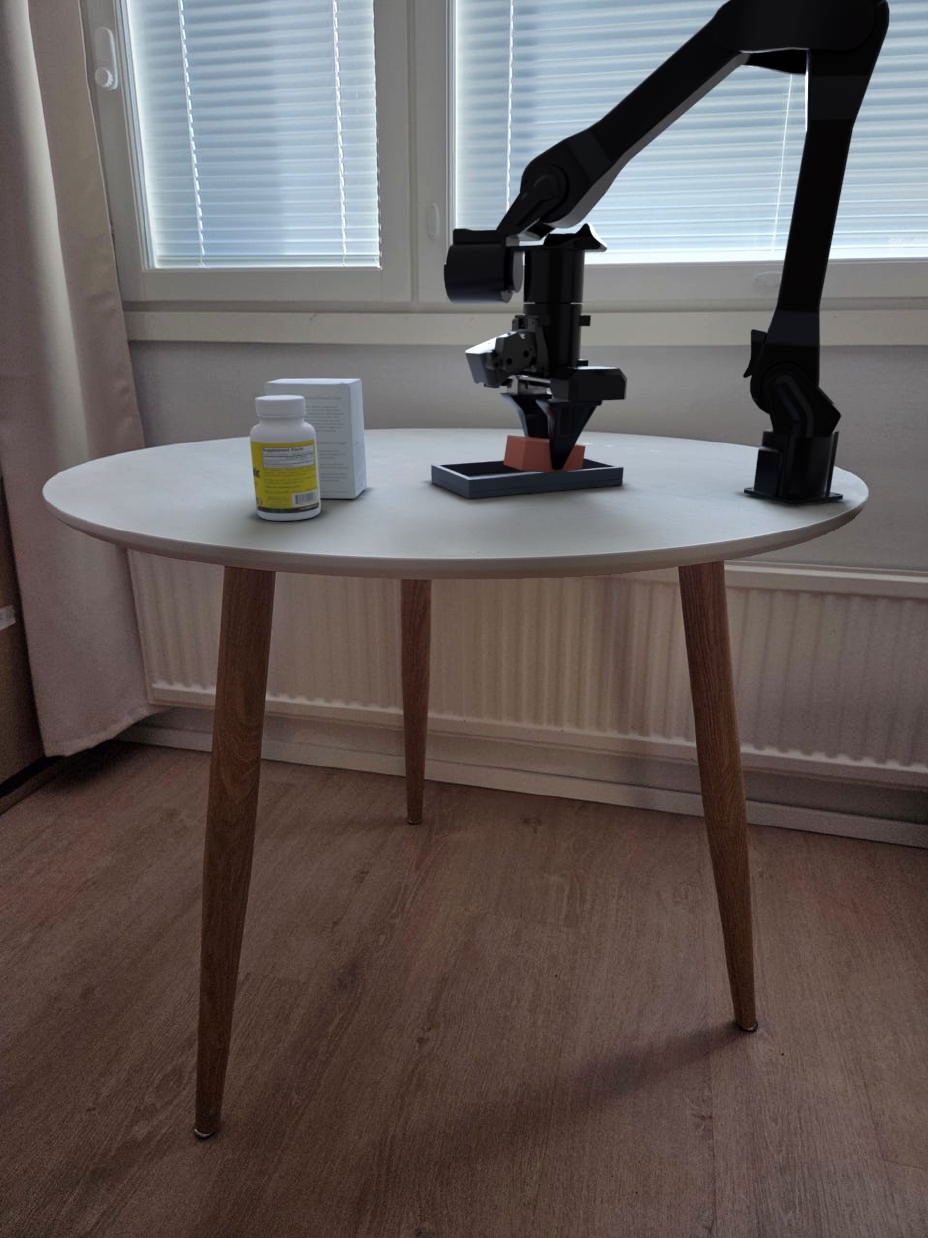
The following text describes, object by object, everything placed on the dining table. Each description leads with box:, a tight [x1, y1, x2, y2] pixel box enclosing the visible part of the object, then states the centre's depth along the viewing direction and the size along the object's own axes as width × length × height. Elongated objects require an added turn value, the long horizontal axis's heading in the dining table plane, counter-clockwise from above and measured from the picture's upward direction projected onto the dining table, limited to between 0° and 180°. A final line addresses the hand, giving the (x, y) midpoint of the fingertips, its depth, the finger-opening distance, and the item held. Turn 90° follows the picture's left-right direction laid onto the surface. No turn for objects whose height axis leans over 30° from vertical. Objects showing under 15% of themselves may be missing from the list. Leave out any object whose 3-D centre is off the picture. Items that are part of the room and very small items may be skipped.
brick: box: [503, 434, 586, 472], centre depth 86 cm, size 7×4×3 cm, turn 114°
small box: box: [263, 377, 368, 500], centre depth 79 cm, size 8×6×10 cm
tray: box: [430, 456, 624, 500], centre depth 86 cm, size 17×9×2 cm, turn 114°
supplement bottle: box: [249, 395, 322, 522], centre depth 70 cm, size 5×5×10 cm
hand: (546, 466), depth 86 cm, fingers closed on brick, 4 cm apart
